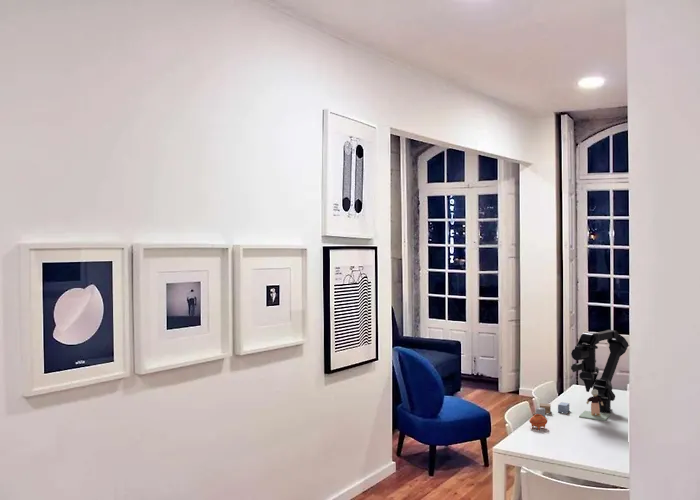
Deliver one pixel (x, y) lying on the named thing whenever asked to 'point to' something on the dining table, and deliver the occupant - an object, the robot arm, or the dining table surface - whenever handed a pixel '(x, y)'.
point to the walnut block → (546, 407)
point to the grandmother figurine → (595, 403)
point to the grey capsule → (540, 411)
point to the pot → (538, 421)
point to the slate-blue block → (563, 407)
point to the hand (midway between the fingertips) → (589, 389)
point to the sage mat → (588, 415)
